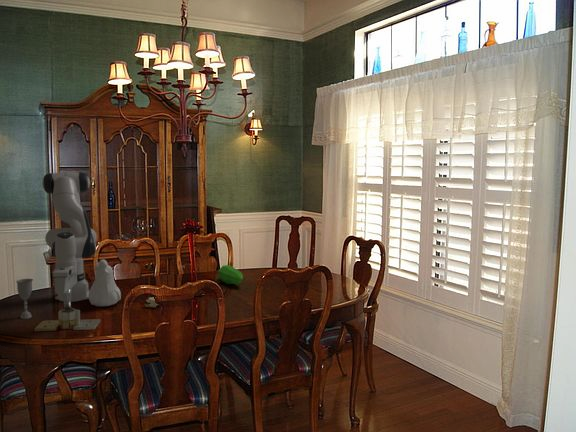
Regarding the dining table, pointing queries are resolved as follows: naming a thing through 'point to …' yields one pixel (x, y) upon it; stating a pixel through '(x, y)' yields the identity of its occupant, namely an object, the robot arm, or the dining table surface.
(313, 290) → the dining table surface
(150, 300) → the cat figure
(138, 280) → the dining table surface
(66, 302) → the pin
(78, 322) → the hinge
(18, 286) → the chalice
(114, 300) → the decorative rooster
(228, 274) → the green ridged rounded cylinder
